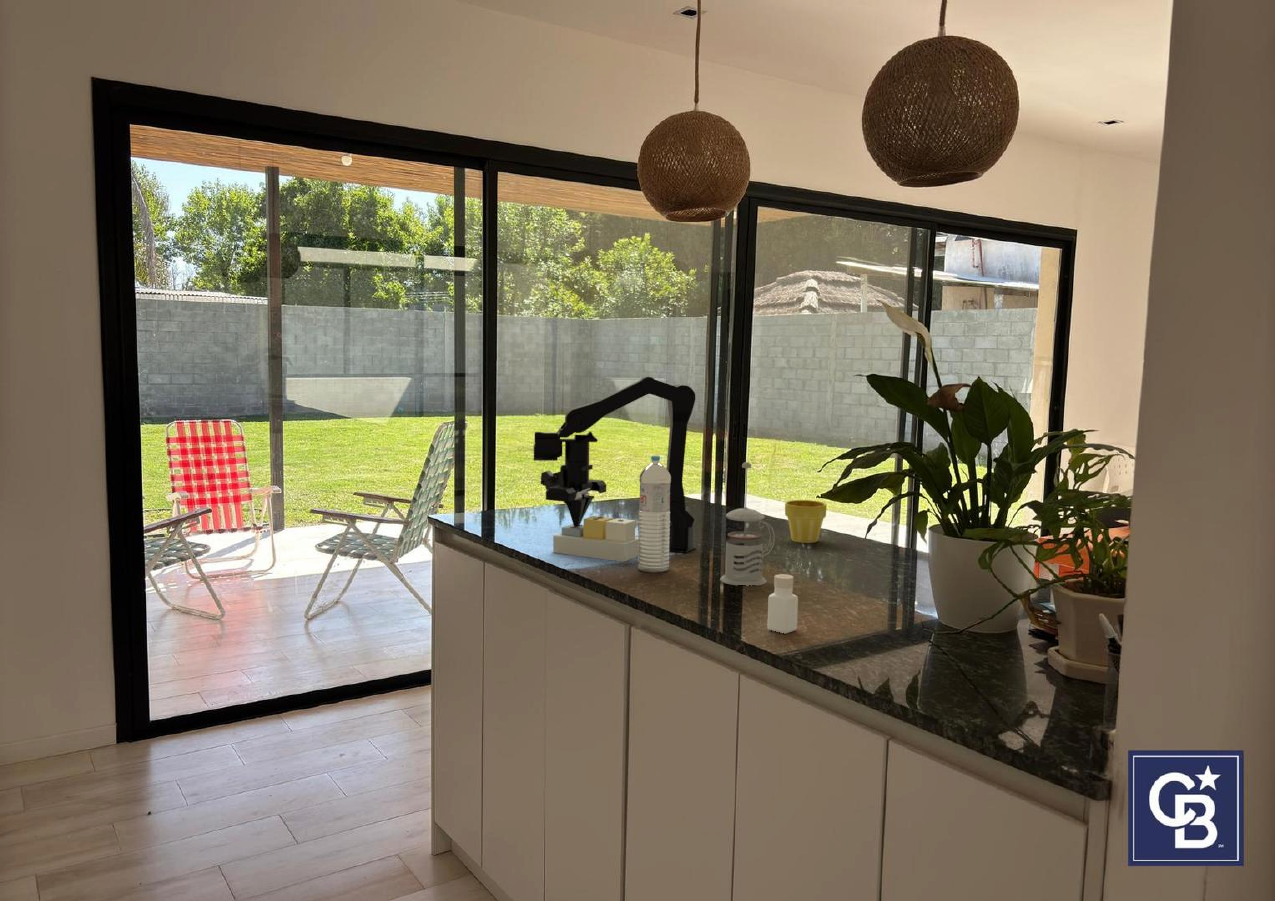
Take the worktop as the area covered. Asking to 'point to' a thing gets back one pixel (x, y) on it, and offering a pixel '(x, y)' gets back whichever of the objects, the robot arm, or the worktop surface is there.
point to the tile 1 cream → (620, 530)
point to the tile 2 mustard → (595, 527)
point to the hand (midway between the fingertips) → (576, 526)
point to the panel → (595, 547)
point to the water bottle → (654, 518)
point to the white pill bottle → (782, 605)
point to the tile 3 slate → (573, 530)
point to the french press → (745, 548)
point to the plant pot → (805, 519)
